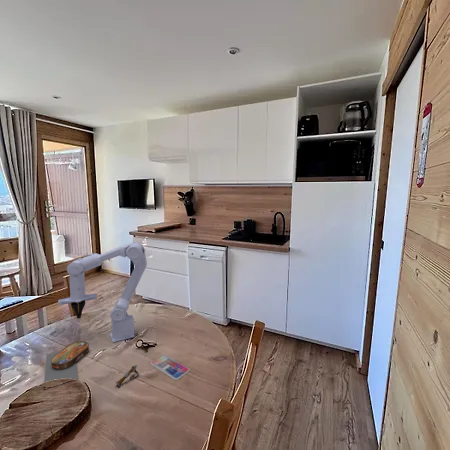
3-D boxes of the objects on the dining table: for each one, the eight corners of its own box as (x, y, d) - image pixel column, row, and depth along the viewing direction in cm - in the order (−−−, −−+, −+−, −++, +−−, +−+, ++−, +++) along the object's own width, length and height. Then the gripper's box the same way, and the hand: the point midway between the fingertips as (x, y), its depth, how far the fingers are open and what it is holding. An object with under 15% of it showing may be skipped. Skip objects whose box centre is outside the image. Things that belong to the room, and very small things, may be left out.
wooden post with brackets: (141, 372, 94) (137, 364, 92) (122, 392, 89) (117, 384, 87) (139, 370, 95) (134, 362, 93) (120, 389, 90) (114, 381, 88)
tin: (64, 365, 94) (45, 360, 95) (64, 373, 94) (45, 368, 96) (93, 342, 109) (76, 338, 110) (93, 349, 109) (75, 345, 110)
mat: (75, 347, 110) (75, 347, 109) (78, 379, 91) (78, 378, 91) (46, 355, 104) (46, 354, 104) (43, 390, 86) (43, 389, 86)
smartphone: (164, 353, 106) (191, 369, 97) (164, 356, 106) (191, 371, 97) (149, 362, 100) (176, 379, 91) (149, 365, 100) (176, 382, 91)
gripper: (57, 293, 106) (59, 325, 107) (97, 287, 113) (98, 317, 115) (57, 288, 112) (59, 318, 113) (95, 283, 119) (96, 311, 121)
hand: (78, 317), depth 114 cm, fingers closed
